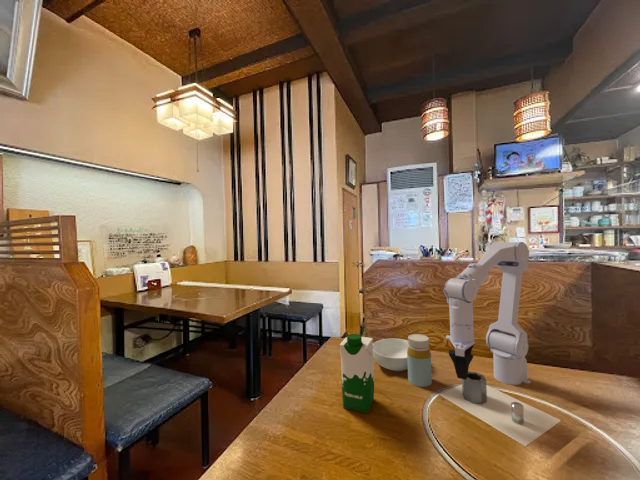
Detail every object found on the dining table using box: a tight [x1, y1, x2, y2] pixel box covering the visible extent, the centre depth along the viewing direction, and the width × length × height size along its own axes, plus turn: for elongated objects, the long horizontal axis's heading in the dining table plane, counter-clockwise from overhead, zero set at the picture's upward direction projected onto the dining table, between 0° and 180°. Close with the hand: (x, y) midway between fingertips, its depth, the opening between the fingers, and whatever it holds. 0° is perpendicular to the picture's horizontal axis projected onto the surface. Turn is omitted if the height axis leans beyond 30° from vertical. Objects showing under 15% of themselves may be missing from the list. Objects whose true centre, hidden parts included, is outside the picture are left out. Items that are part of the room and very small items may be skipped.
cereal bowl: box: [373, 337, 409, 372], centre depth 98 cm, size 17×17×7 cm
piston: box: [511, 402, 524, 425], centre depth 66 cm, size 2×2×4 cm
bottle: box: [407, 333, 433, 388], centre depth 85 cm, size 7×7×15 cm
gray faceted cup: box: [461, 370, 487, 404], centre depth 76 cm, size 6×6×6 cm
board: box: [438, 384, 562, 447], centre depth 72 cm, size 16×22×1 cm
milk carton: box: [339, 333, 375, 414], centre depth 77 cm, size 9×9×20 cm
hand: (463, 371), depth 74 cm, fingers open, 7 cm apart
